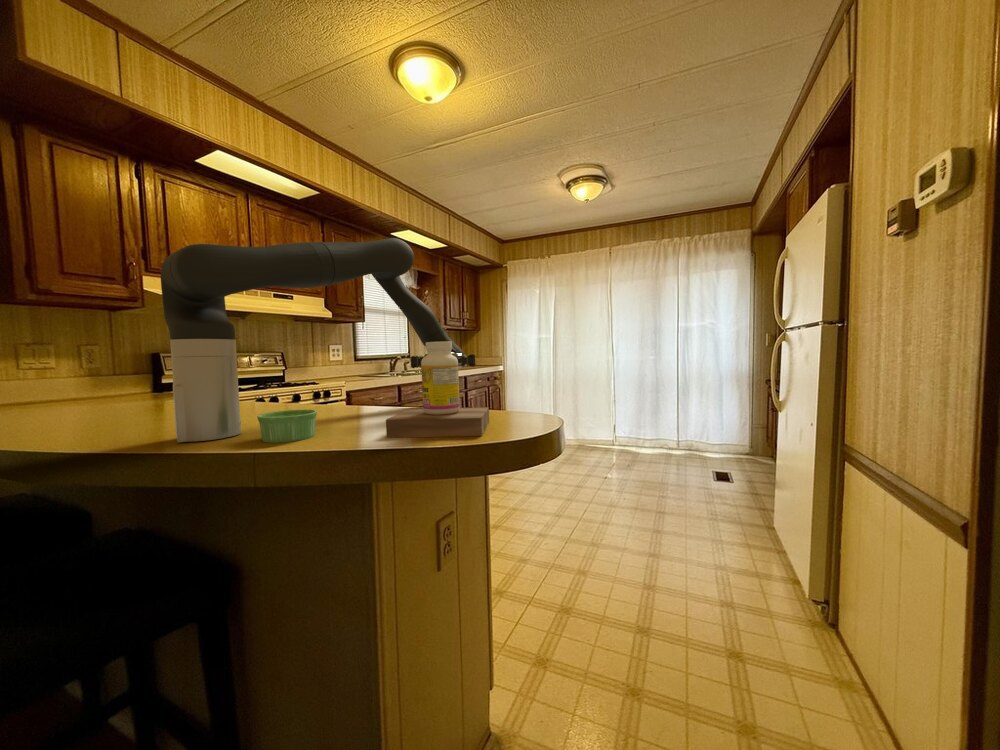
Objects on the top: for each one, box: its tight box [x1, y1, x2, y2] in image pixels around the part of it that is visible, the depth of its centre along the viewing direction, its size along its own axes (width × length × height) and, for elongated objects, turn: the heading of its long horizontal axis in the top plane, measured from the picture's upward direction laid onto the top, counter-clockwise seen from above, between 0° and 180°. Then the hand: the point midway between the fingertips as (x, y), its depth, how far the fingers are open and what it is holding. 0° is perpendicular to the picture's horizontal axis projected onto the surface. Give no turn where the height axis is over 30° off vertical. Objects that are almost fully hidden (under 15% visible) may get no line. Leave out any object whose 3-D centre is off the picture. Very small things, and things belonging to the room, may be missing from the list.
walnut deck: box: [385, 406, 490, 438], centre depth 71 cm, size 13×16×3 cm
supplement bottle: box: [420, 342, 461, 415], centre depth 71 cm, size 7×7×13 cm
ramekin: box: [257, 409, 318, 444], centre depth 67 cm, size 9×9×4 cm
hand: (442, 361), depth 82 cm, fingers open, 8 cm apart
